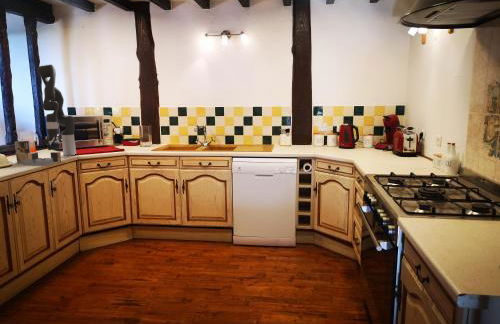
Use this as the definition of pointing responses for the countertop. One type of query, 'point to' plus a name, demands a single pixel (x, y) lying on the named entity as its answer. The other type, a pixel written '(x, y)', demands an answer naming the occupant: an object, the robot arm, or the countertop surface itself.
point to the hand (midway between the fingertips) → (53, 149)
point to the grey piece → (37, 160)
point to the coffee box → (22, 150)
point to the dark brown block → (56, 156)
